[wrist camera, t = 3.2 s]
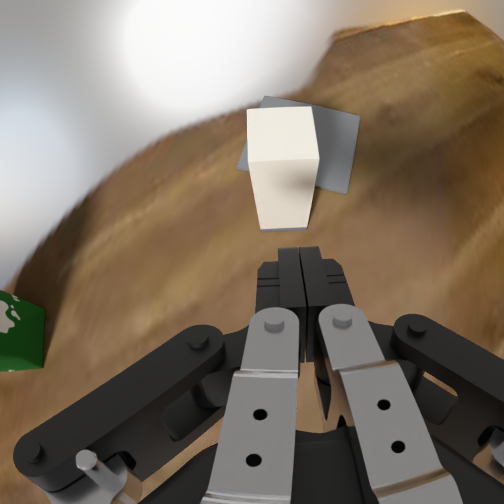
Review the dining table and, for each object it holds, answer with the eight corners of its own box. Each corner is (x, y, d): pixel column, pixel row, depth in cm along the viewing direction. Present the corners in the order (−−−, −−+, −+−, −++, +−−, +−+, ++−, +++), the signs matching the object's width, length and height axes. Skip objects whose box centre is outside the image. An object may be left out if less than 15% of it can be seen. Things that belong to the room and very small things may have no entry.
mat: (264, 97, 37) (264, 95, 37) (359, 118, 35) (360, 116, 35) (237, 168, 35) (236, 166, 34) (346, 194, 33) (346, 193, 32)
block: (259, 191, 34) (246, 109, 21) (302, 189, 33) (311, 106, 21) (261, 232, 32) (247, 161, 20) (306, 230, 32) (319, 158, 20)
